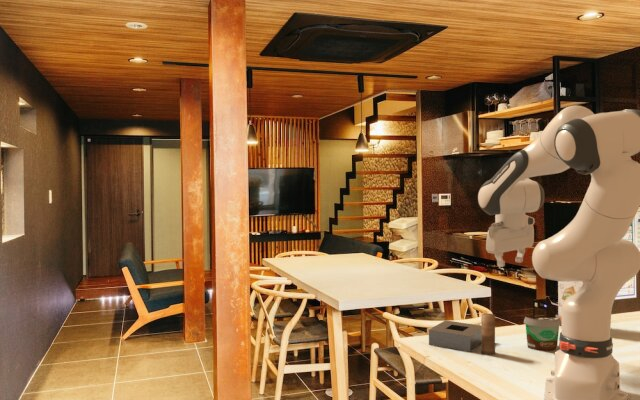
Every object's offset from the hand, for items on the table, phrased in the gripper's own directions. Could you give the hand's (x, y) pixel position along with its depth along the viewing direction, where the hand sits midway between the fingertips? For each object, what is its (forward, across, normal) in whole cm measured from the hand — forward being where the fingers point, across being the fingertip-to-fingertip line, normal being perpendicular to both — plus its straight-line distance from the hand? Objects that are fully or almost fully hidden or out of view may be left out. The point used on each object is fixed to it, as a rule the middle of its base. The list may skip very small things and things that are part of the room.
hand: (510, 264), depth 165 cm
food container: (+28, +10, -7) cm, 30 cm away
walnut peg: (+27, -8, +2) cm, 28 cm away
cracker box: (+29, +39, -1) cm, 49 cm away
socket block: (+28, -7, +15) cm, 32 cm away
